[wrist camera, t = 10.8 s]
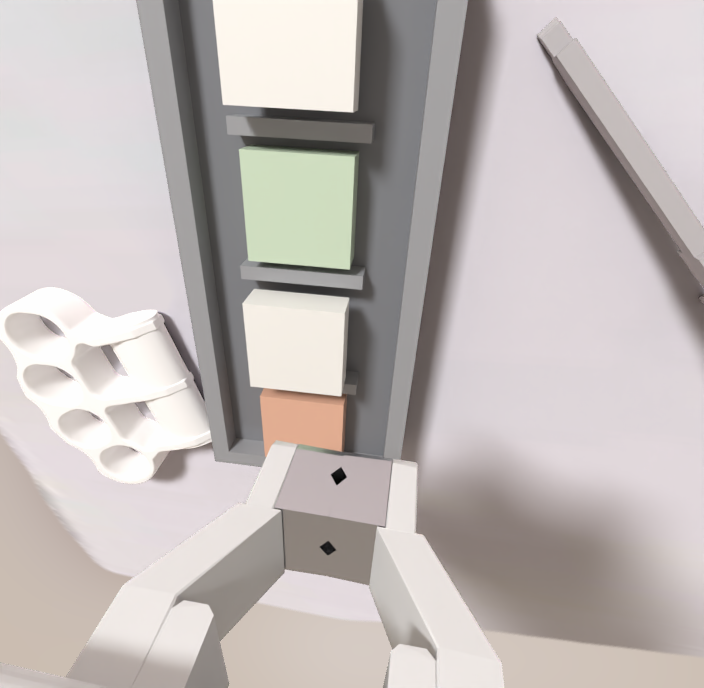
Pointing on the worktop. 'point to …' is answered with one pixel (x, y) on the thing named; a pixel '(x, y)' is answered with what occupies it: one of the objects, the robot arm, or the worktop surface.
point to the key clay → (303, 419)
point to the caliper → (626, 144)
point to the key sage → (300, 205)
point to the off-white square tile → (296, 341)
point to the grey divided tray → (371, 212)
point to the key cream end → (290, 53)
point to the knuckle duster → (105, 382)
